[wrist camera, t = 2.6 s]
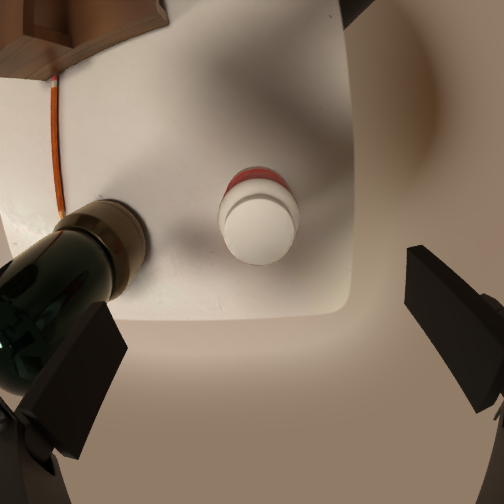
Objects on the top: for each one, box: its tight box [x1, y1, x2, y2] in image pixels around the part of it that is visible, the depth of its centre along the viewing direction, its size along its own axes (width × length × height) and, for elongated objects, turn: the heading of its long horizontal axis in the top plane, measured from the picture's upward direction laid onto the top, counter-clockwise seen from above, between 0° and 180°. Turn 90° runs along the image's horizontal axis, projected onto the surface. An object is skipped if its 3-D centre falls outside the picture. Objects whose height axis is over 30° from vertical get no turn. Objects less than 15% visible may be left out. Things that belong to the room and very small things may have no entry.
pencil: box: [51, 75, 64, 220], centre depth 27 cm, size 1×18×1 cm, turn 179°
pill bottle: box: [218, 166, 299, 265], centre depth 25 cm, size 6×6×11 cm
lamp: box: [0, 200, 146, 397], centre depth 21 cm, size 10×10×22 cm
